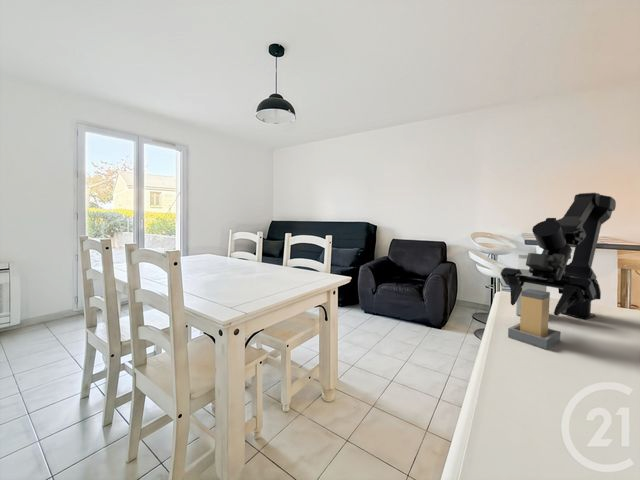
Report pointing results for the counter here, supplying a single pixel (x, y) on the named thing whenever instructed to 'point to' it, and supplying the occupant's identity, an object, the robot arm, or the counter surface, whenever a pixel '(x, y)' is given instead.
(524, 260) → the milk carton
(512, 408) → the counter surface
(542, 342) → the socket collar
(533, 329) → the plug
